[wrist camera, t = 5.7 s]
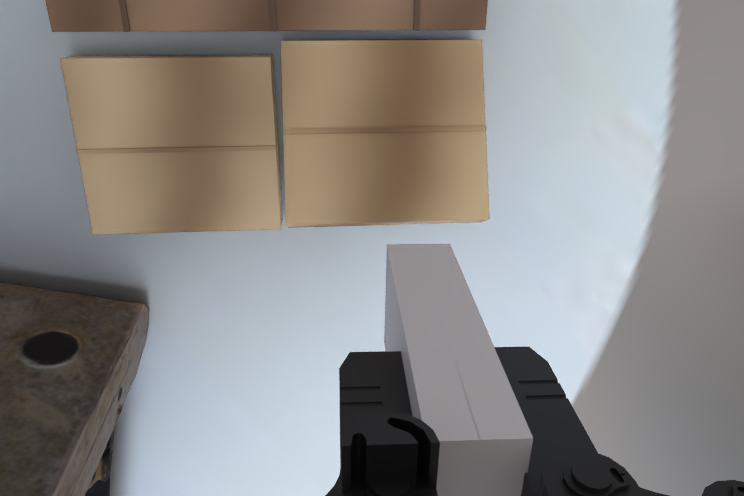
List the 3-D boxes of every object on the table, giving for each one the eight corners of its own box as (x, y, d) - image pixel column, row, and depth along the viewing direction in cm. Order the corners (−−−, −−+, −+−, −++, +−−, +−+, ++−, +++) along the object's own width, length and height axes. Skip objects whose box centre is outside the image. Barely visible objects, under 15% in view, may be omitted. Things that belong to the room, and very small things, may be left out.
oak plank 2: (288, 227, 22) (285, 224, 21) (283, 53, 22) (280, 39, 21) (481, 222, 23) (490, 218, 21) (473, 52, 23) (482, 38, 22)
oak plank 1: (103, 224, 24) (92, 235, 23) (73, 56, 22) (59, 58, 21) (282, 219, 25) (280, 229, 24) (272, 54, 22) (270, 57, 21)
